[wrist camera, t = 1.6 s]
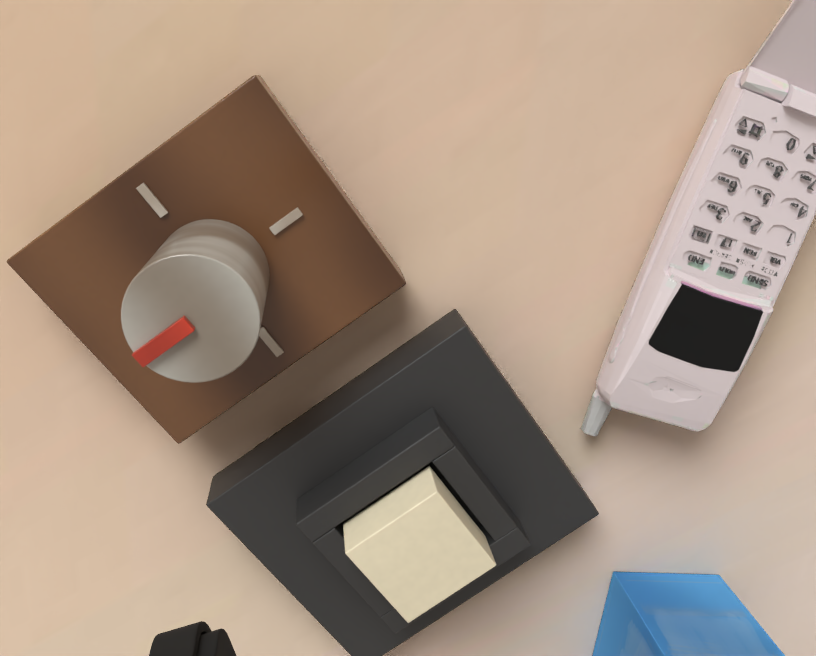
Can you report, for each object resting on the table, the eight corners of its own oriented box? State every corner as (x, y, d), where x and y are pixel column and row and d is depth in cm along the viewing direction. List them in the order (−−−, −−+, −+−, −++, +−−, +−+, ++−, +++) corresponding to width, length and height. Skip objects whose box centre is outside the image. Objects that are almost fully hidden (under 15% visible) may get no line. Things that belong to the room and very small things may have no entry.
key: (428, 464, 32) (437, 491, 30) (485, 536, 34) (497, 565, 31) (342, 523, 32) (344, 553, 30) (402, 591, 34) (408, 624, 32)
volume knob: (221, 196, 29) (199, 228, 23) (291, 284, 30) (287, 336, 24) (132, 262, 29) (87, 310, 23) (205, 346, 31) (181, 411, 25)
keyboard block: (455, 307, 34) (475, 341, 30) (581, 487, 38) (615, 538, 34) (212, 476, 35) (199, 531, 31) (359, 633, 39) (366, 700, 35)
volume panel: (259, 74, 30) (254, 74, 27) (400, 269, 33) (407, 285, 31) (28, 247, 31) (3, 262, 28) (187, 419, 34) (177, 446, 32)
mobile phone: (1044, -98, 26) (730, 512, 32) (915, -66, 31) (669, 449, 38) (903, -169, 25) (607, 480, 31) (795, -123, 30) (563, 419, 37)
